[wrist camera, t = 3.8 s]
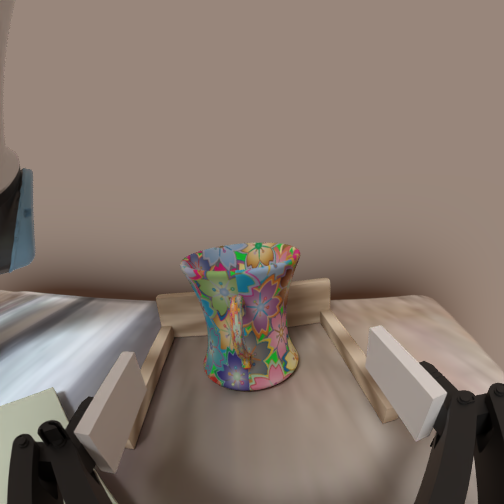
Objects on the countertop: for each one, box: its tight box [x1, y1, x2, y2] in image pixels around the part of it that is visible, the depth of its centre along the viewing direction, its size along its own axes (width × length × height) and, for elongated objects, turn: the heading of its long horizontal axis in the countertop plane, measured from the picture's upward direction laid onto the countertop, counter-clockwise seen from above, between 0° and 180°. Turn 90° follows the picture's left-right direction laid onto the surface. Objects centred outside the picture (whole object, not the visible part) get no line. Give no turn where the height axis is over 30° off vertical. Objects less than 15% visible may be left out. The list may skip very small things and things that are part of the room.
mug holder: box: [125, 278, 398, 449], centre depth 23 cm, size 18×19×5 cm
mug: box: [180, 243, 300, 391], centre depth 22 cm, size 12×9×11 cm
